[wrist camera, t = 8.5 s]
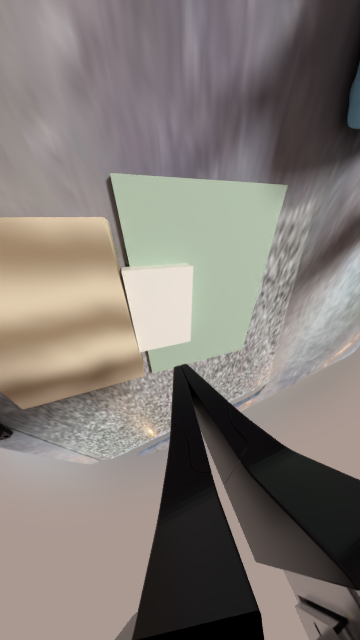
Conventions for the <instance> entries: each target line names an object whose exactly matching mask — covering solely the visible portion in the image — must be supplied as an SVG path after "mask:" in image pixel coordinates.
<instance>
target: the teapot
mask: <svg viewBox="0 0 360 640" xmlns="http://www.w3.org/2000/svg"><path fill="white" fill-rule="evenodd" d="M349 102H350V105H349V111H348V117H347V123H348V126H349V127H350V128H355V129H360V62H359V66H358V70H357V74H356V78H355V80H354V82H353V84H352V87H351V91H350V96H349Z"/></svg>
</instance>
